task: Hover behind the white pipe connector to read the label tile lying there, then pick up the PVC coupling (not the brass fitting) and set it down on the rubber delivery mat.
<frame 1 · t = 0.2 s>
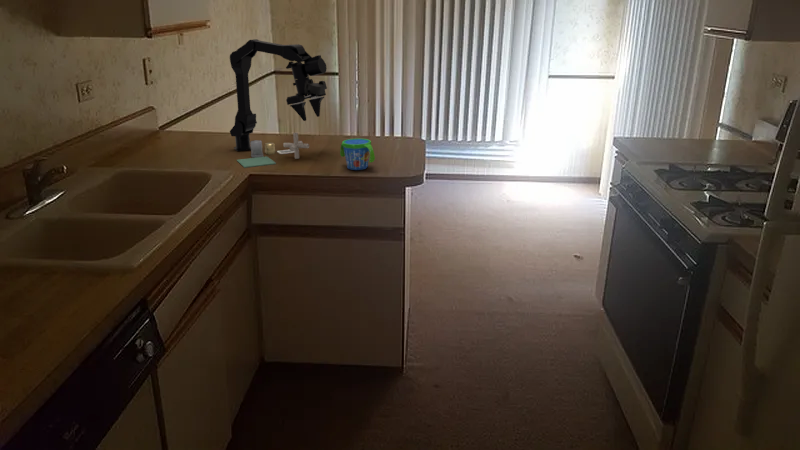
hand: (311, 118, 241), 15 cm above the worktop, tool pointing down, fingers open, 9 cm apart
pvc coupling: (257, 156, 247), on the worktop
brass fitting: (270, 153, 252), on the worktop
snack cup: (357, 168, 230), on the worktop
delivery mat: (256, 162, 238), on the worktop
label tile: (287, 151, 254), on the worktop
pipe connector: (297, 158, 244), on the worktop
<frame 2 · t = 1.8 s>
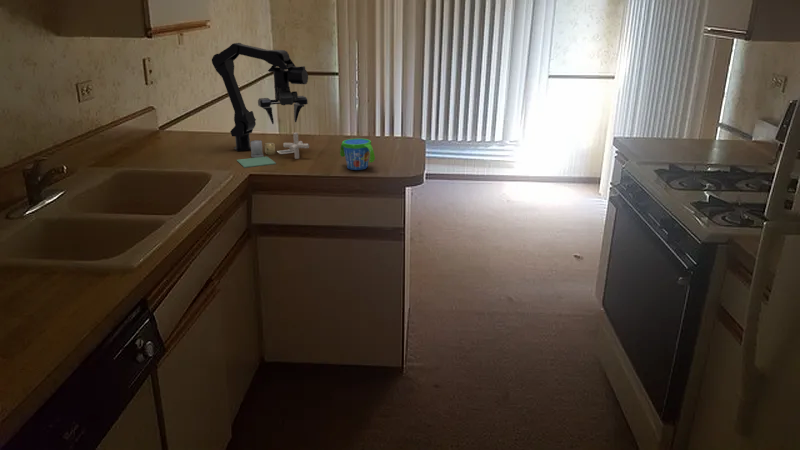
hand: (284, 123, 250), 12 cm above the worktop, tool pointing down, fingers open, 9 cm apart
nothing on the worktop moved.
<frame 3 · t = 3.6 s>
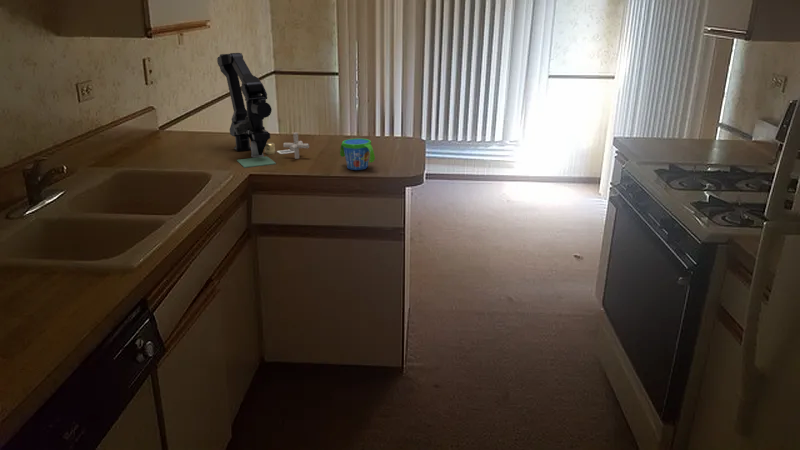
hand: (258, 153, 246), 2 cm above the worktop, tool pointing down, fingers open, 7 cm apart
pvc coupling: (257, 156, 247), on the worktop, touching gripper
everything else where it was.
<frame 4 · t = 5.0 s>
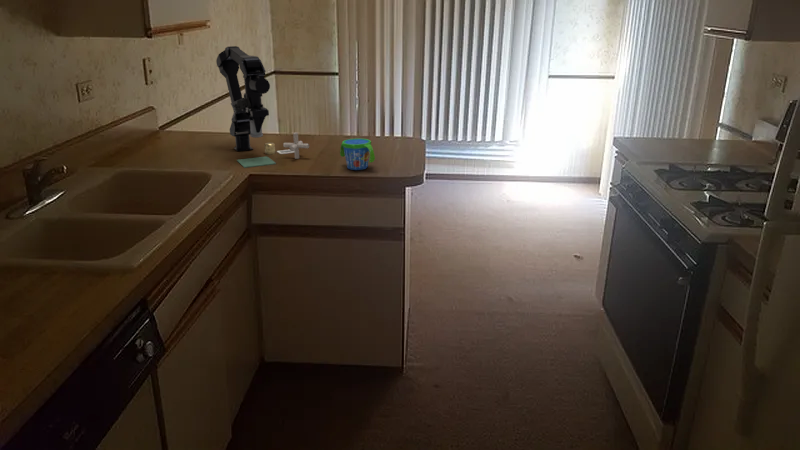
hand: (256, 131, 242), 10 cm above the worktop, tool pointing down, fingers closed on pvc coupling, 4 cm apart
pvc coupling: (256, 135, 243), point 9 cm above the worktop, tilted 6°, touching gripper
everything else where it was.
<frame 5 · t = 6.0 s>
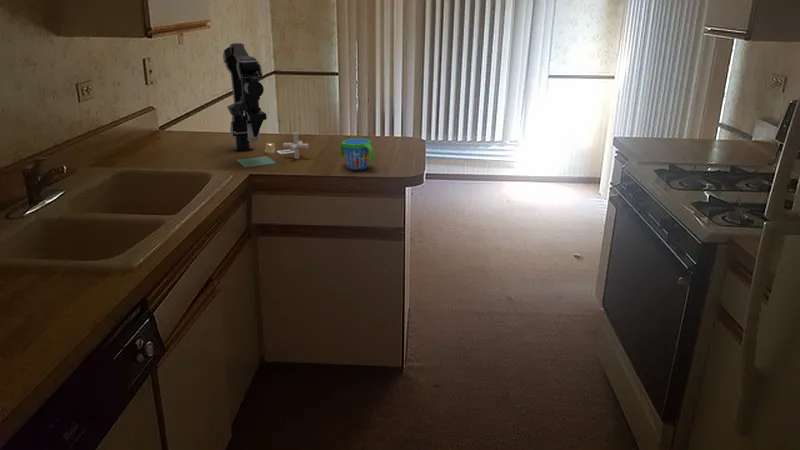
hand: (253, 135, 235), 10 cm above the worktop, tool pointing down, fingers closed on pvc coupling, 4 cm apart
pvc coupling: (254, 139, 235), point 9 cm above the worktop, tilted 6°, touching gripper
everything else where it was.
when the fingers open (3 cm above the worktop, at t = 7.6 s): pvc coupling stays where it is, resting on delivery mat.
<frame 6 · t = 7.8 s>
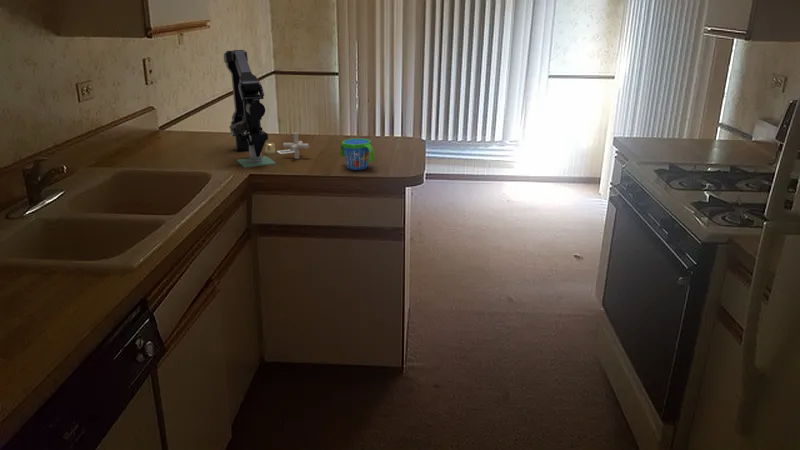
hand: (255, 154, 237), 3 cm above the worktop, tool pointing down, fingers open, 7 cm apart
pvc coupling: (256, 161, 238), resting on delivery mat
everything else where it was.
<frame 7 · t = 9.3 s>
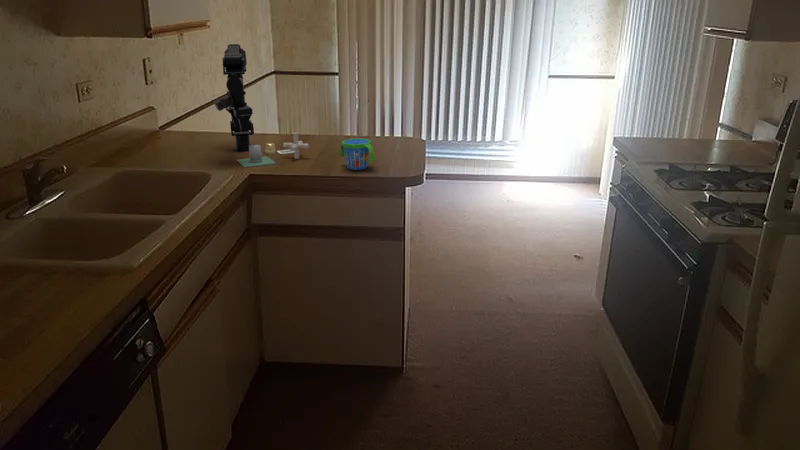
hand: (239, 129, 239), 12 cm above the worktop, tool pointing down, fingers open, 9 cm apart
nothing on the worktop moved.
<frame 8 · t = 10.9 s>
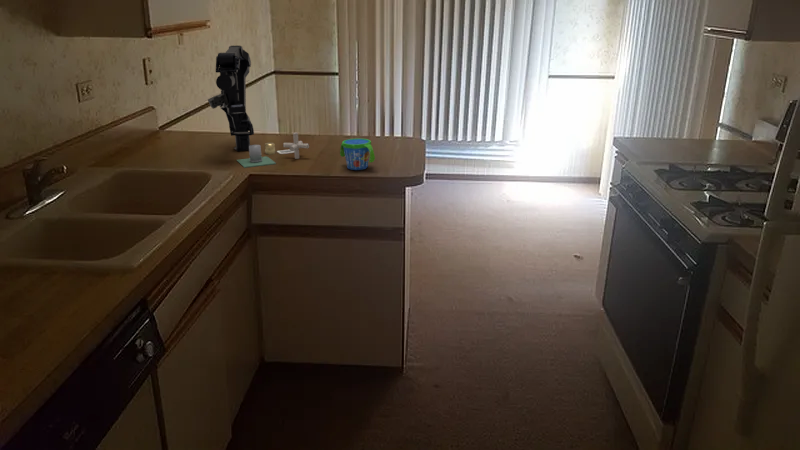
hand: (234, 127, 240), 12 cm above the worktop, tool pointing down, fingers open, 9 cm apart
nothing on the worktop moved.
at the end: pvc coupling inside the target area on the delivery mat (0.1 cm from its centre), point 0.4 cm above the delivery mat's base; pvc coupling tilted 0°; the gripper is holding nothing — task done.
